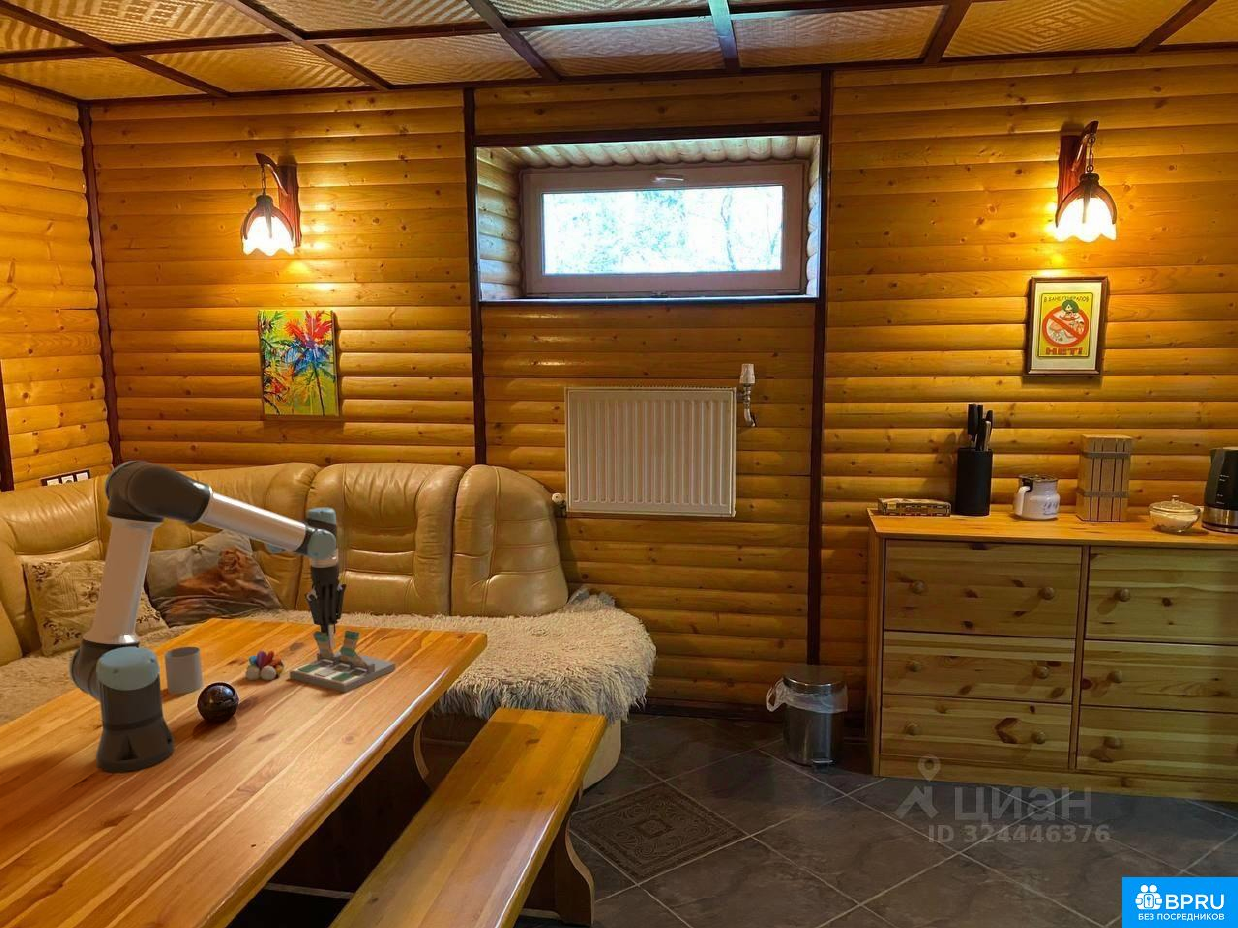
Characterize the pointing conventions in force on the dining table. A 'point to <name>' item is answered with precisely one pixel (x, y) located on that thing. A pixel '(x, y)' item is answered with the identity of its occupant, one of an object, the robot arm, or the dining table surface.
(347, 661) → the lever
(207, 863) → the dining table surface
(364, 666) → the lever
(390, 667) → the switch board
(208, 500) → the robot arm
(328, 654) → the lever
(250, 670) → the rainbow disc wheeled toy
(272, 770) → the dining table surface
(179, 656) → the cup
